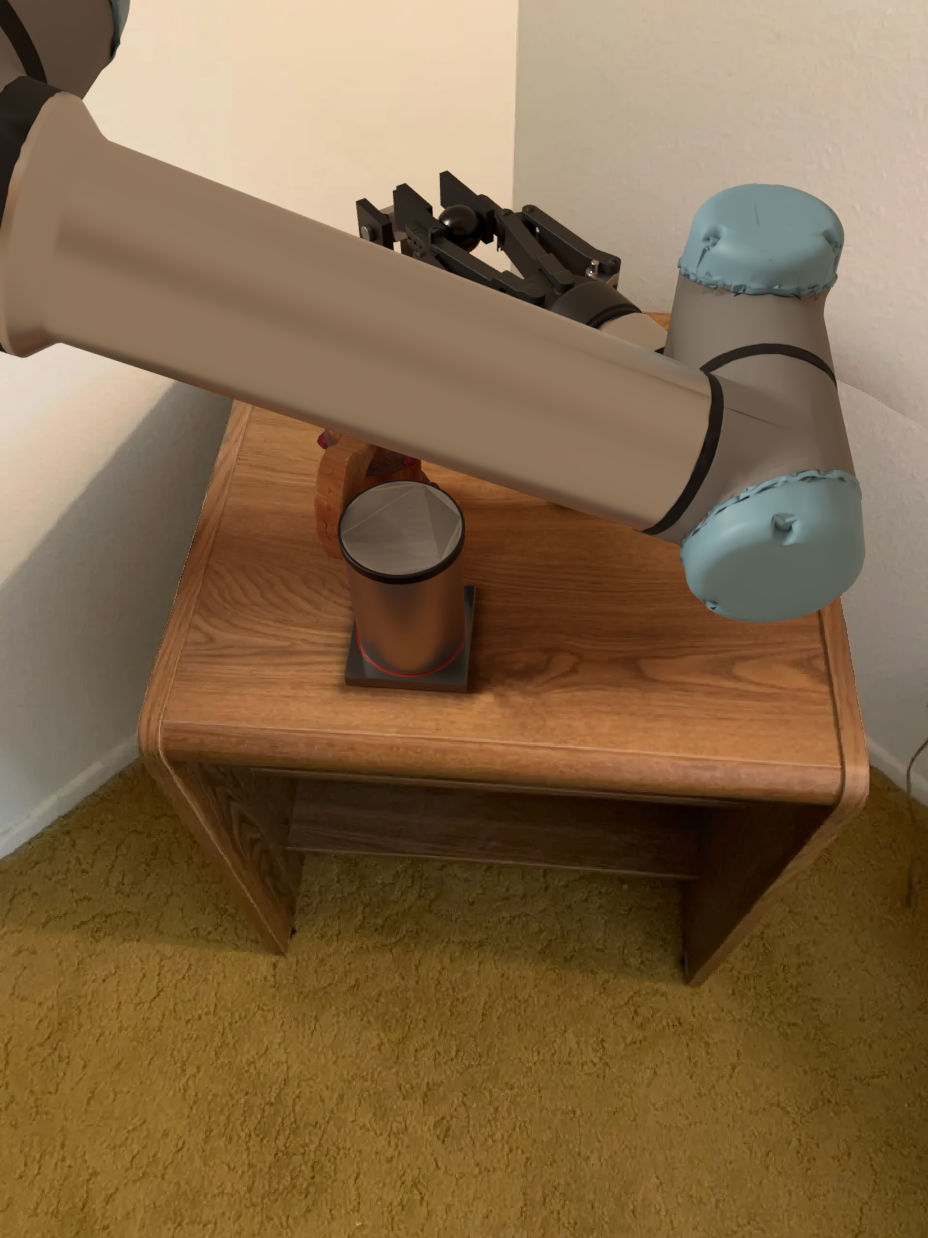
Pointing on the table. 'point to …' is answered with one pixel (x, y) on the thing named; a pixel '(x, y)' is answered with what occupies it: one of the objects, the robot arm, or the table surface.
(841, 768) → the table surface
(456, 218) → the lever
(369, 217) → the switch
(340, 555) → the mug
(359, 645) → the hob
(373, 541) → the lidded metal tumbler
